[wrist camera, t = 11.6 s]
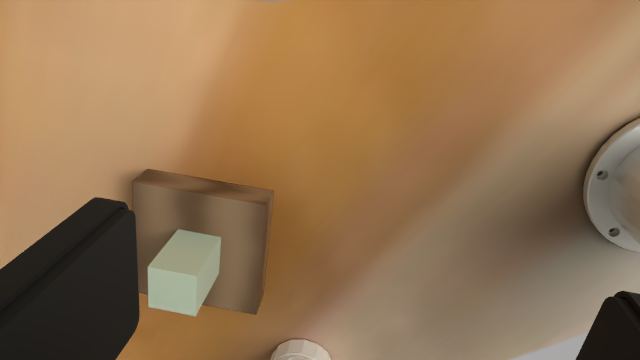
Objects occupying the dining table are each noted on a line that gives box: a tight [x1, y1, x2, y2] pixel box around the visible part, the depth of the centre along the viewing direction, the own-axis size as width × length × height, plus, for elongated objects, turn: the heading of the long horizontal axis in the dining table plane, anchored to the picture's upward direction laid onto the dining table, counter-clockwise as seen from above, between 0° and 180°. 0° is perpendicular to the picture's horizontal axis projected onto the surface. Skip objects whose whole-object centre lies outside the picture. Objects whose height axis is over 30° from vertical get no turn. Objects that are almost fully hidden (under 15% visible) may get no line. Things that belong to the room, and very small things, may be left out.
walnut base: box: [132, 169, 274, 315], centre depth 44 cm, size 12×12×3 cm
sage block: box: [148, 229, 221, 316], centre depth 40 cm, size 4×4×6 cm
